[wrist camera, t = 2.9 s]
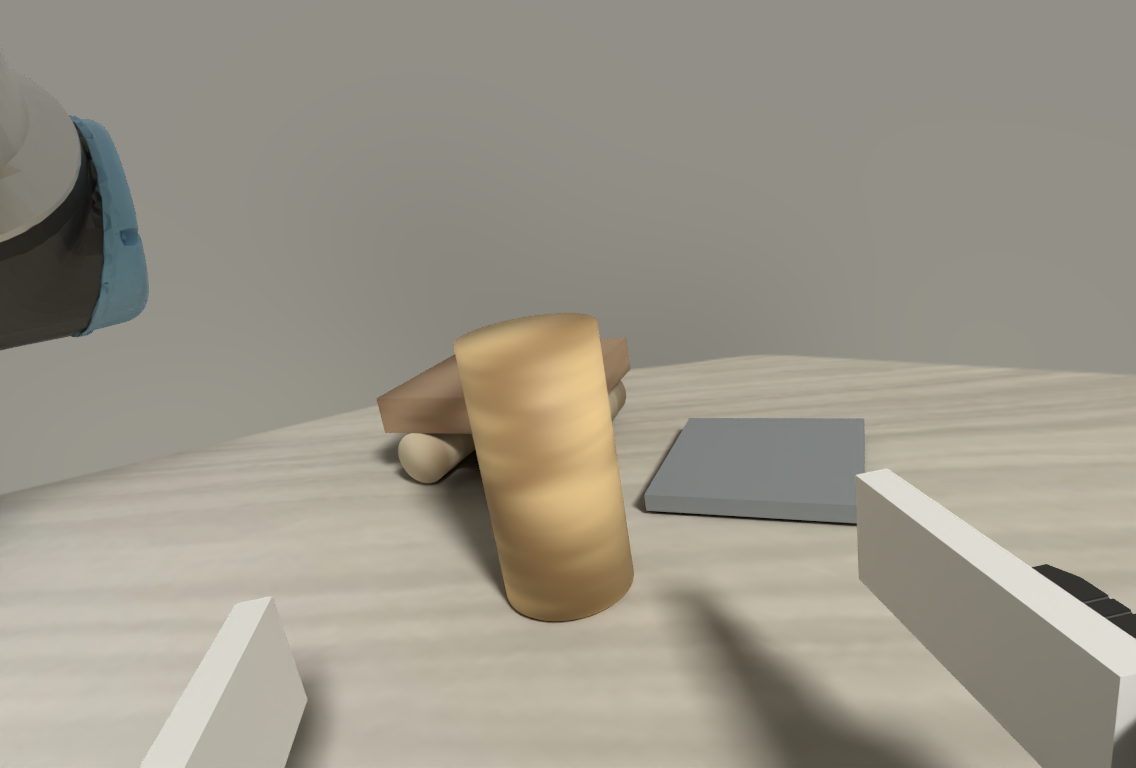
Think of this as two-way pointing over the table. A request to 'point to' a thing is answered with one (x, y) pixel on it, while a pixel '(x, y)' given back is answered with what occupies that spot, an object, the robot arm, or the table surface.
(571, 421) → the roller
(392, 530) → the table surface
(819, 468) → the pad
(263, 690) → the robot arm
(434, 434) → the slab
